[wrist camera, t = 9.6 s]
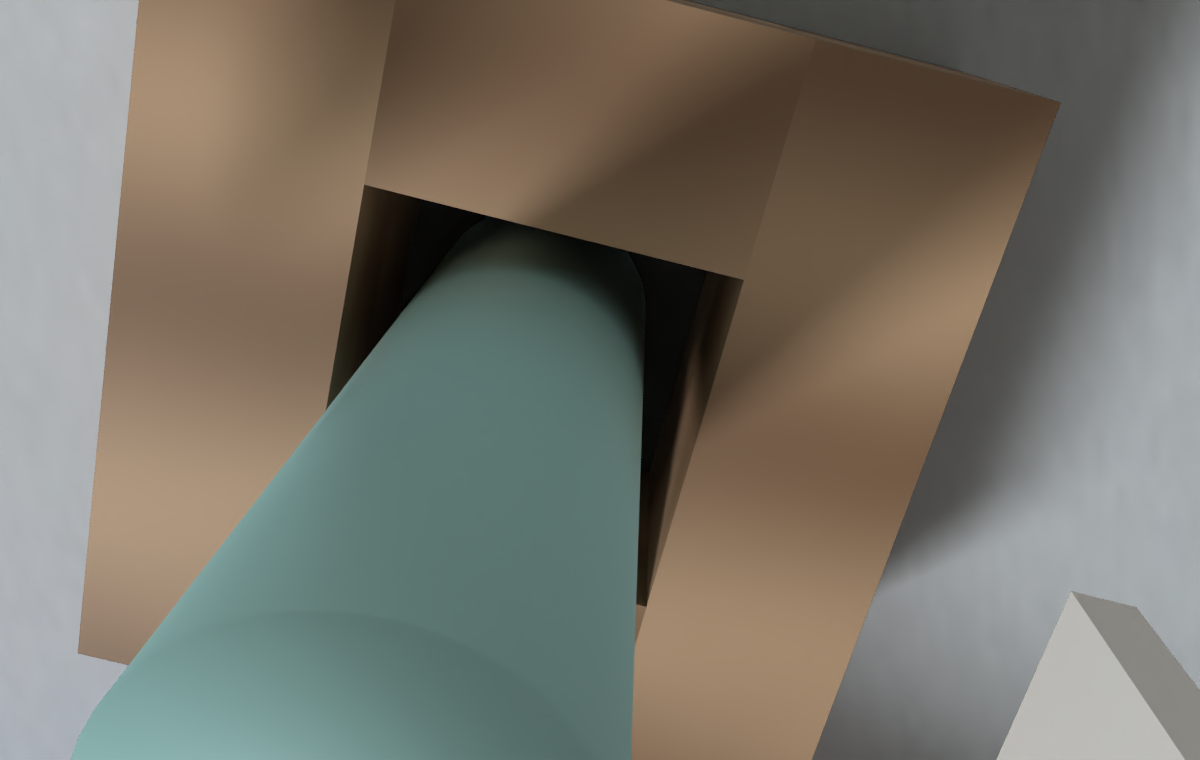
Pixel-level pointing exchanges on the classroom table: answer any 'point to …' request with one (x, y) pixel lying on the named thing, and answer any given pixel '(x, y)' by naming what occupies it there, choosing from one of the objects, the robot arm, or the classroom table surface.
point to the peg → (430, 542)
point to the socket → (582, 210)
